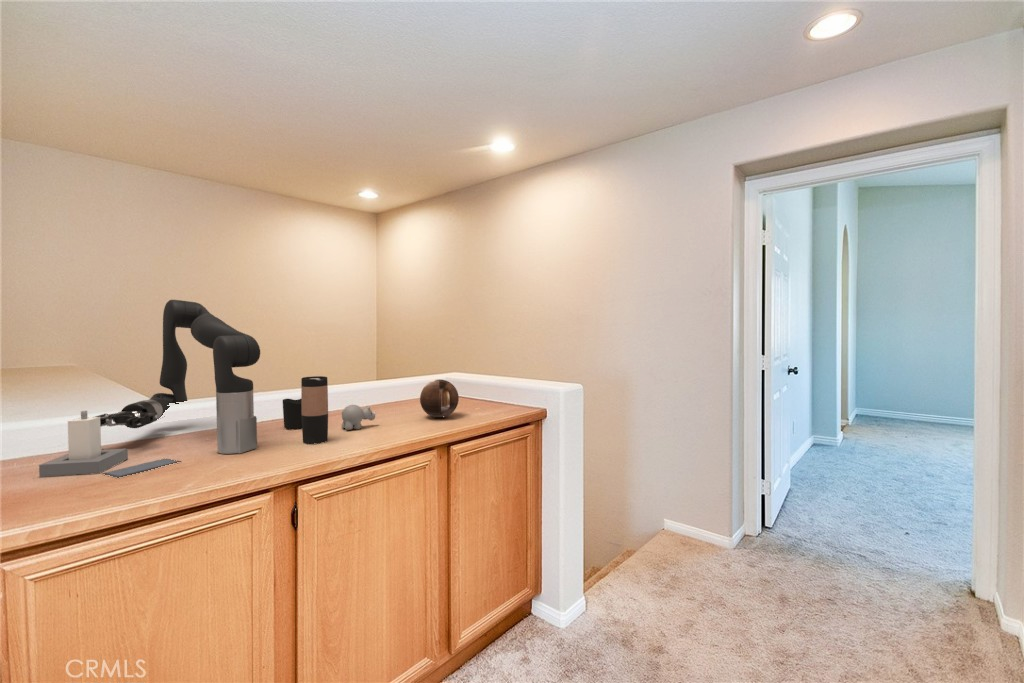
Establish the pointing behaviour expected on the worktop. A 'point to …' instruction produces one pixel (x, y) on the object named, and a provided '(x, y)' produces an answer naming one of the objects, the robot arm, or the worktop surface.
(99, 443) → the white block with peg
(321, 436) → the travel mug
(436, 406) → the wooden sphere
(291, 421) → the pen holder
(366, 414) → the toy rhinoceros
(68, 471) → the block
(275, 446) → the worktop surface
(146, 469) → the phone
